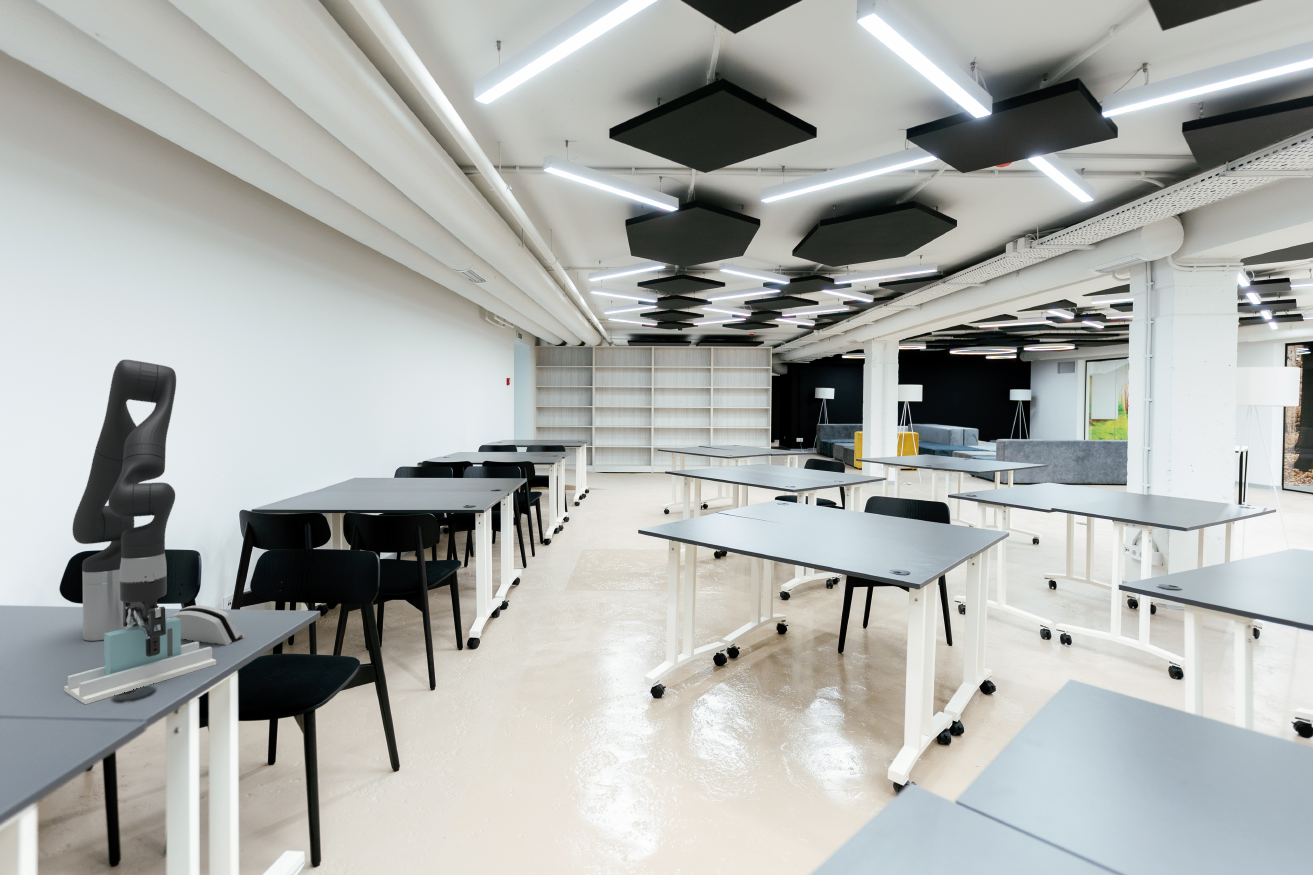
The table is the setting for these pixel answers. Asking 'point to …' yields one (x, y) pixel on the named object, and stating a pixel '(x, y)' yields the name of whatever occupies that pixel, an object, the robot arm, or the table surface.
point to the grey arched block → (207, 625)
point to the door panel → (138, 647)
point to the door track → (137, 675)
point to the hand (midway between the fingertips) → (144, 651)
